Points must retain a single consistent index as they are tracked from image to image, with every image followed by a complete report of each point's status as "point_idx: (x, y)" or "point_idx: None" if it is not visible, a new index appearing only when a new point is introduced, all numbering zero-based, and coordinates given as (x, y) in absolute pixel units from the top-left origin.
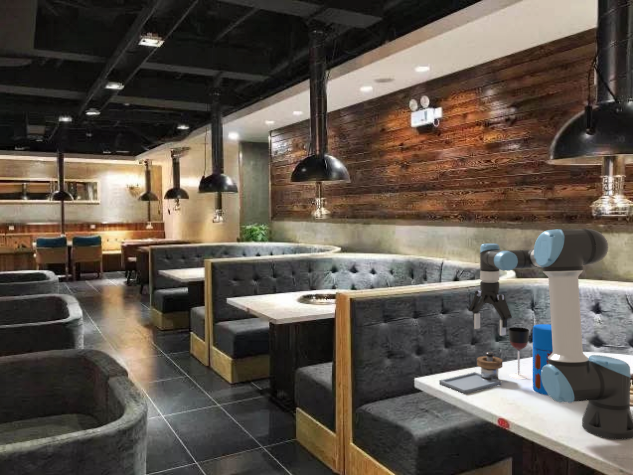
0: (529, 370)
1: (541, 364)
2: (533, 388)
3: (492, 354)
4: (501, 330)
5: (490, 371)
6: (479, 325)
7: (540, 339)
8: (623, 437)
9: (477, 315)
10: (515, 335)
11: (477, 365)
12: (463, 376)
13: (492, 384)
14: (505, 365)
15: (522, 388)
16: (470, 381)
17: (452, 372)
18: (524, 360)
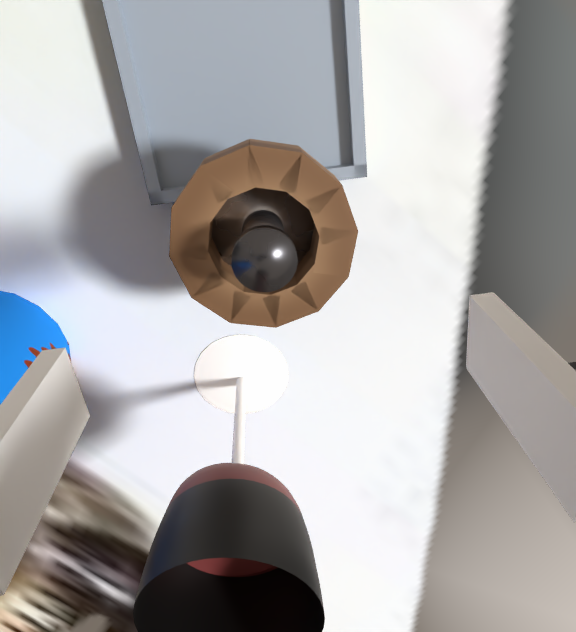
0: (290, 468)
1: None
2: (25, 304)
3: (231, 261)
4: (13, 392)
5: None
6: (482, 379)
7: None
8: None
9: (564, 444)
10: (182, 533)
11: (298, 146)
12: (346, 49)
13: (134, 124)
14: (407, 428)
15: (66, 266)
16: (252, 33)
17: (490, 79)
18: (414, 534)
